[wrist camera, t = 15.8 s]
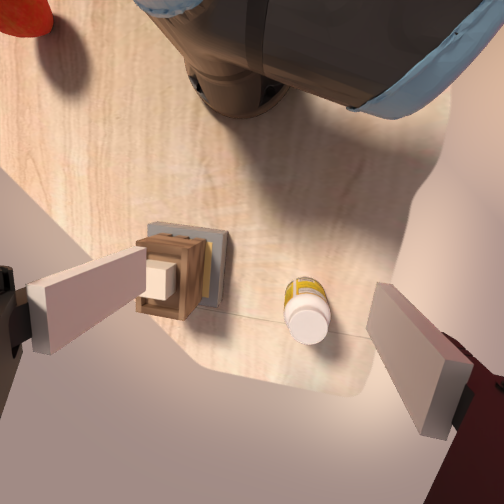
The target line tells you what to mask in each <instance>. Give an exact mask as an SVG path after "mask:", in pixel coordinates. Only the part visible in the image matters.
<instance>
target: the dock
mask: <svg viewBox="0 0 504 504" xmlns="http://www.w3.org/2000/svg"><path fill="white" fill-rule="evenodd" d="M159 233H169V234H172V237H175V236H178V235H183V236H189V240H192V239H194V238H196V237H197V238H203V239H206V247H205V261H204V276H203V290H202V300H201V302H200V303H199V304H198V305H204V306H210V307H215V308H217V307H218V306H219V304H220V303H221V301H222V295H223V283H224V271H225V260H226V248H227V237H228V231H224V230H217V229H209V228H202V227H194V226H187V225H180V224H172V223H165V222H153V223H149V224H148V237H150V236H153V235H156V234H159Z"/></svg>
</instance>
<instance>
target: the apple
mask: <svg viewBox="0 0 504 504" xmlns="http://www.w3.org/2000/svg"><path fill="white" fill-rule="evenodd" d="M52 27H53V15H52V12H51V9H50V6H49V4H48V1H47V0H0V32H2V33H5V34H8V35H12V36H16V37H20V38H23V37H39V36H43V35H46V34H48V33H50V31H51V30H52Z"/></svg>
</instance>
